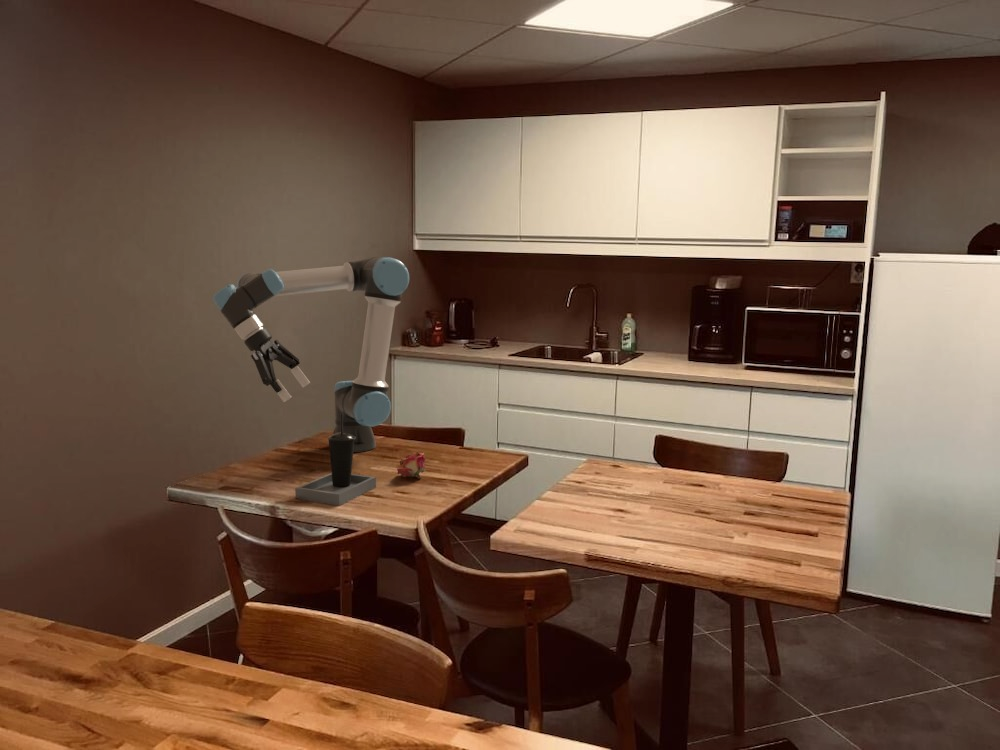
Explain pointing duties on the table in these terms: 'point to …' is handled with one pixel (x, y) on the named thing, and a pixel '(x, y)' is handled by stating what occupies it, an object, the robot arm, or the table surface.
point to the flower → (412, 465)
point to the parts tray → (335, 489)
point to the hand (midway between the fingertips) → (297, 392)
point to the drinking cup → (341, 456)
